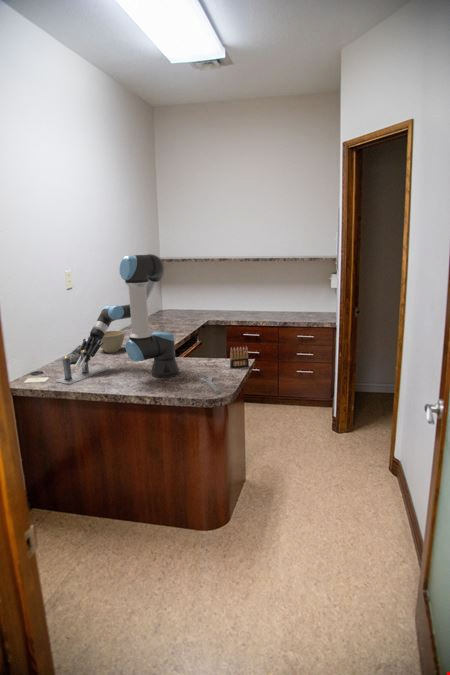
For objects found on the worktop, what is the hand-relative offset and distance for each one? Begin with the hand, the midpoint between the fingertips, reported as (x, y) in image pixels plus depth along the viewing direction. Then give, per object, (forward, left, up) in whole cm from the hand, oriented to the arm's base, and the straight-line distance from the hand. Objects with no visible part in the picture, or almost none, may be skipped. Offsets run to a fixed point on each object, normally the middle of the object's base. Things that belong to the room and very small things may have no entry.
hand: (79, 366), depth 244 cm
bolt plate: (0, -3, -6) cm, 6 cm away
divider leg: (0, -4, -4) cm, 5 cm away
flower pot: (+23, -49, -6) cm, 54 cm away
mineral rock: (+25, -22, -6) cm, 34 cm away
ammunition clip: (-72, -51, -6) cm, 88 cm away
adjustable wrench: (-73, -16, -6) cm, 75 cm away
